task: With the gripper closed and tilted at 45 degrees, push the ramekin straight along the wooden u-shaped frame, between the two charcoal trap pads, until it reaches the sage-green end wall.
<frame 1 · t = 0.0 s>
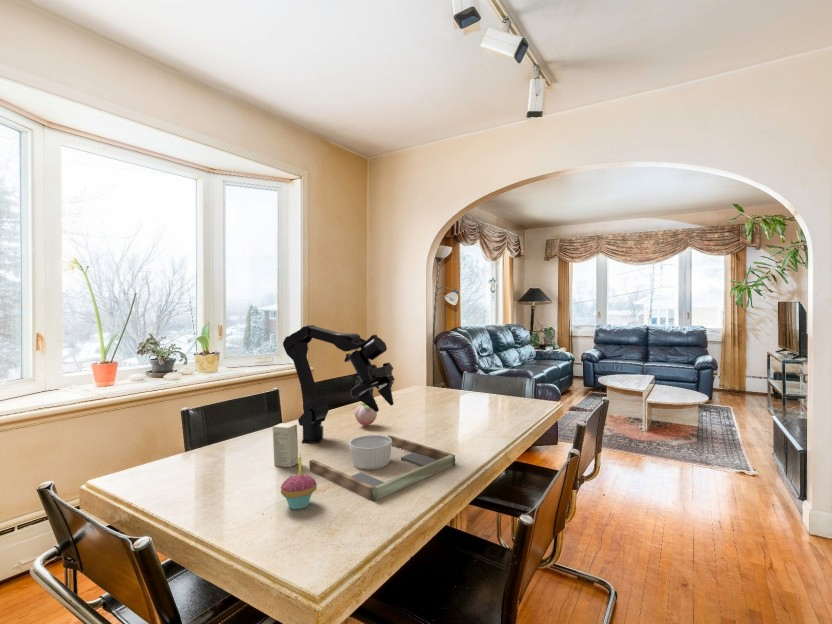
hand: (385, 408, 139), 15 cm above the table, tool tilted 35°, fingers open, 9 cm apart
cupcake: (299, 505, 104), on the table
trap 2: (419, 461, 132), on the table
ramekin: (371, 463, 131), on the table
decorative fruit: (366, 427, 170), on the table
wooden u-shaped frame: (383, 467, 127), on the table
skincare box: (286, 464, 131), on the table
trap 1: (363, 483, 116), on the table
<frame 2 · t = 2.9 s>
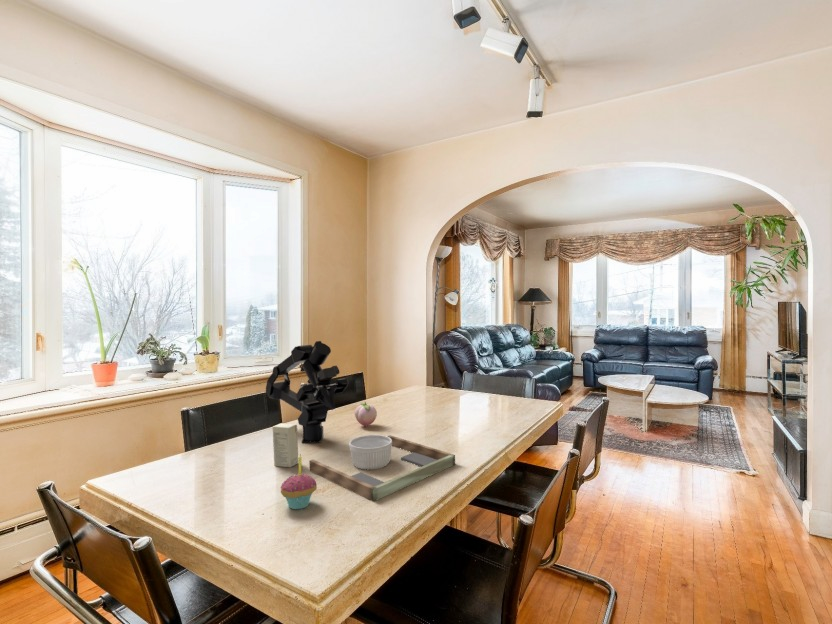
hand: (333, 408, 144), 14 cm above the table, tool tilted 45°, fingers closed
nothing on the table moved.
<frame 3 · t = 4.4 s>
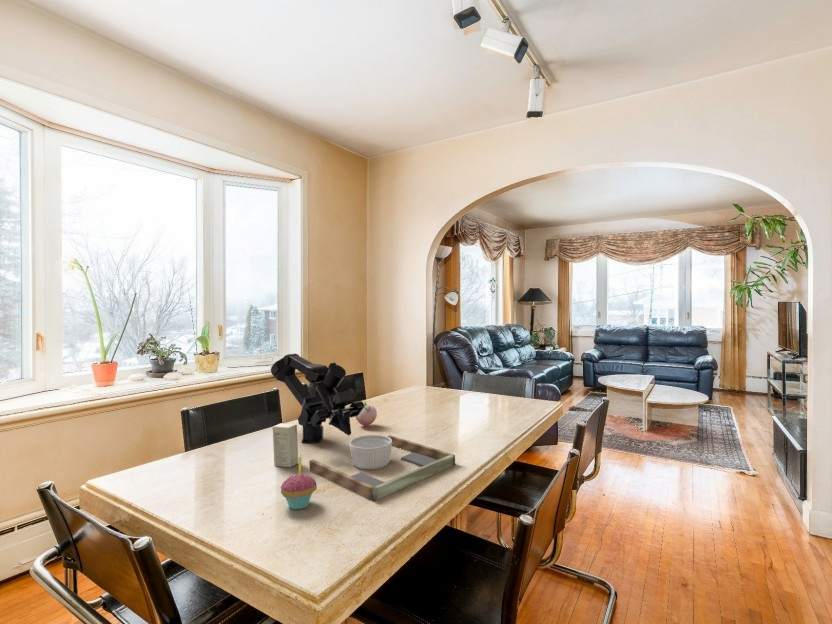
hand: (349, 434, 138), 7 cm above the table, tool tilted 45°, fingers closed
nothing on the table moved.
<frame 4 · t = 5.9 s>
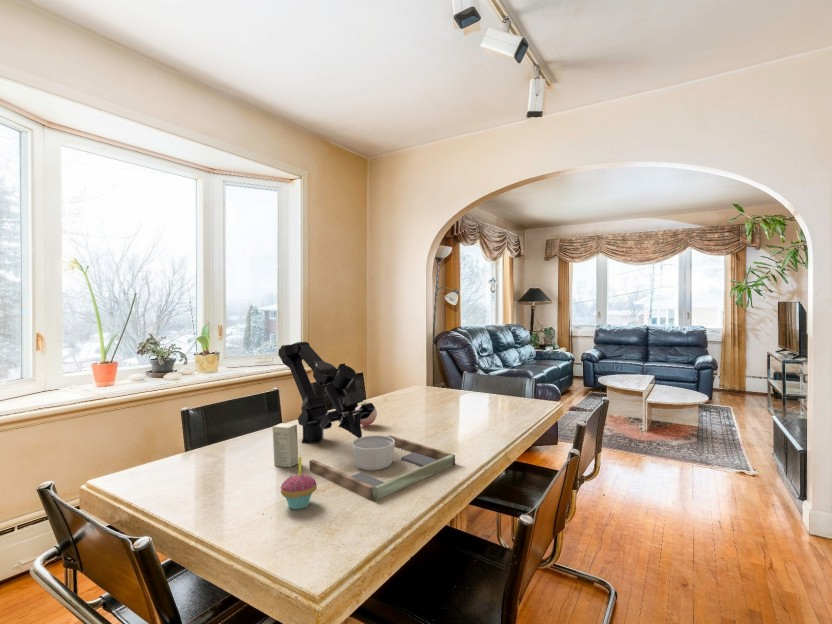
hand: (360, 437, 134), 7 cm above the table, tool tilted 45°, fingers closed, pressing on ramekin
ramekin: (373, 464, 130), on the table, touching gripper
everything else where it was.
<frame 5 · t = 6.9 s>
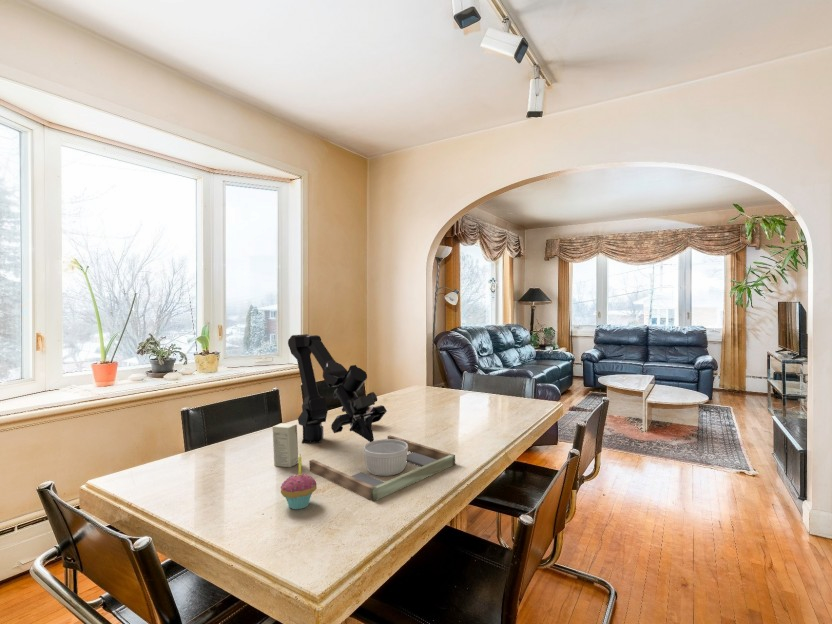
hand: (372, 441, 130), 7 cm above the table, tool tilted 45°, fingers closed, pressing on ramekin
ramekin: (386, 469, 126), on the table, touching gripper
everything else where it was.
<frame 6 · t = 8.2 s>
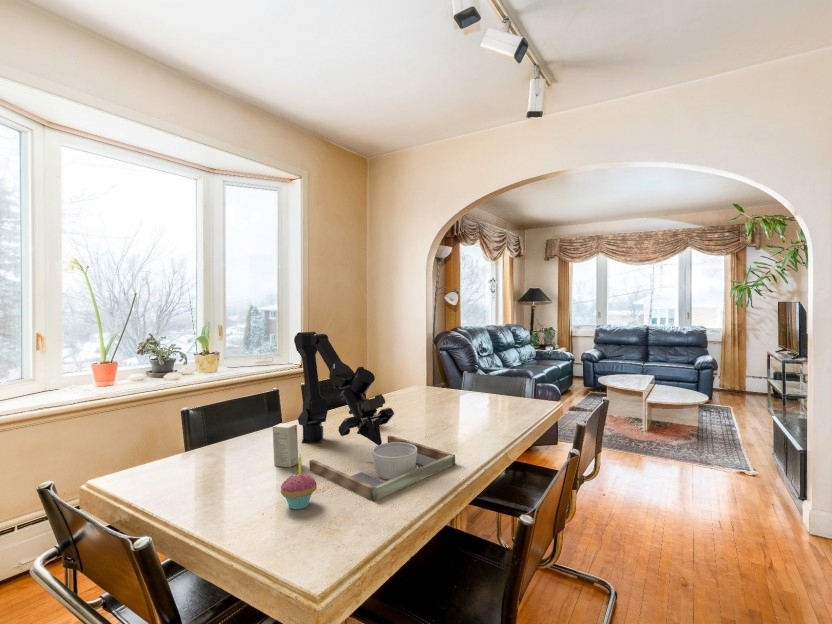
hand: (380, 444, 128), 7 cm above the table, tool tilted 45°, fingers closed
ramekin: (395, 473, 123), on the table, touching gripper
everything else where it was.
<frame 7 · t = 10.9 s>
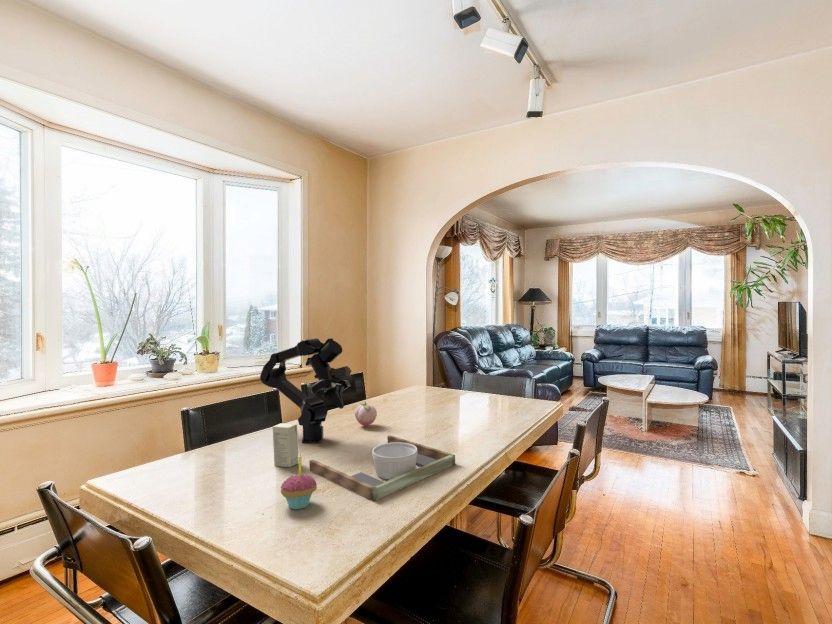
hand: (342, 408, 146), 14 cm above the table, tool tilted 35°, fingers closed
ramekin: (395, 473, 123), on the table
everything else where it was.
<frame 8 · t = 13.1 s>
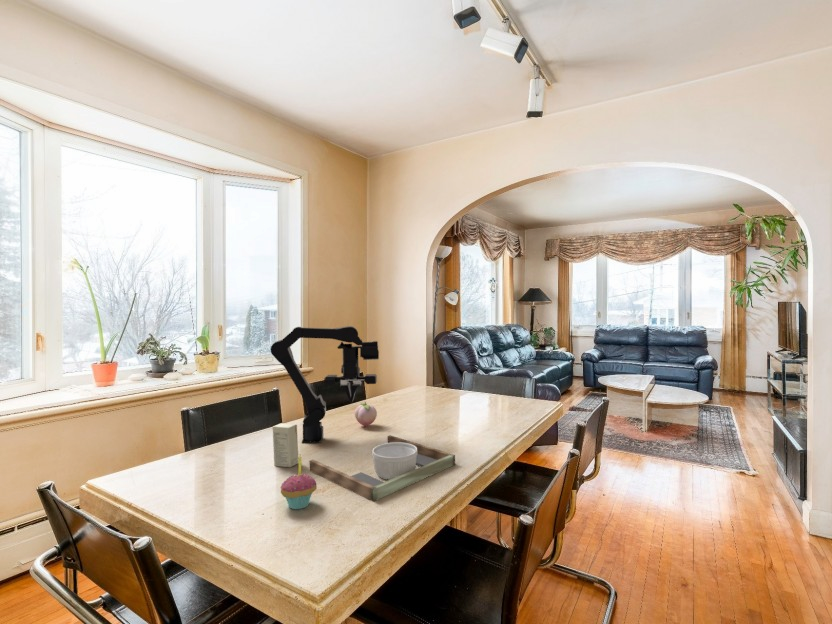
hand: (351, 402, 156), 13 cm above the table, tool pointing down, fingers closed
nothing on the table moved.
at the end: ramekin 0.9 cm from the target spot on the wooden u-shaped frame, point 0.0 cm above the wooden u-shaped frame's base; ramekin touching table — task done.
